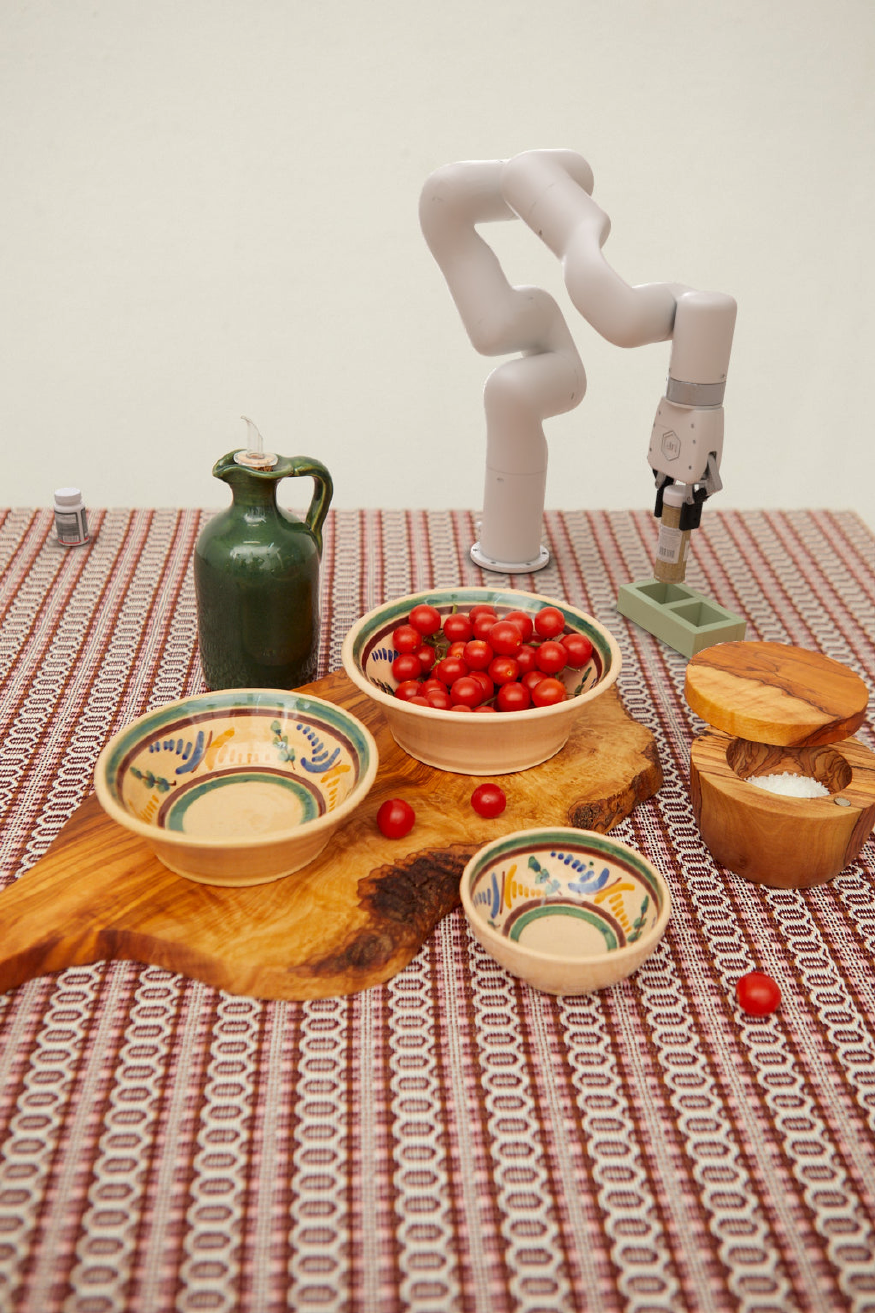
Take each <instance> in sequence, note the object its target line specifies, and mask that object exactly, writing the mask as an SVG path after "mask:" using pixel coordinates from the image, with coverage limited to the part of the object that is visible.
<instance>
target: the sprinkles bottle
mask: <svg viewBox="0 0 875 1313" xmlns="http://www.w3.org/2000/svg"><path fill="white" fill-rule="evenodd" d="M697 490H698V489H697V488H695V492H696V491H697ZM683 502H686V484H675V485H669V486H667V487H665V489H664V494H663V511H662V517H661V519H660V524H659V530H658V538H657V546H656V553H655V557H656V558H655V566H654V571H653V576H652V577H653V578H655V579H656V580H657V581H659V582H661V583H665V584H679V583H681V582H682V583H683V582H684V581H685V580H686V569H687V562H688V558H689V552H690V545H691V544H690V543H691V536H692V530H687V531H681V530H679V522H680V515H681V508H682V503H683Z"/></svg>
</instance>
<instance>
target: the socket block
mask: <svg viewBox="0 0 875 1313" xmlns="http://www.w3.org/2000/svg"><path fill="white" fill-rule="evenodd" d="M617 594H618V595H617V603H616V611H617V612H618V613H620V614H621V615H623V616H624V617H625V618H627V619H629V621H632V622H633V623H635V624H636V625H638V626H639V627H641V629H643V630H645V631H647V633H649V634H651V635H653V636H654V637H655V638H657V639H658V640H660V641H661V642H663V643H664V644H666V645H668V646H669V647H671V648H672V649H673V650H675V651H676V652H677V653H679V654H681V655H682V656H684V657H685V658H687V659H688V660H690V658H691V657H692V656H693V655H694V654H697V653H698V652H700V651H701V650H703V649H705V648H708V647H711V646H713V645H714V644H718V643H722V642H731V641H742V640H744V641H745V637H746V632H747V626H748V621H747V620H746V619H744V618H742V617H740V616H739V615H737V614H736V613H734V612H732V611H731V610H729V609H728V608H725V607H724V606H723V605H721V604H719V603H717V602H716V601H714V600H712V599H710V598H709V597H707V596H706V595H704V594H702V593H700V592H698V591H697V590H695V589H693V588H692V587H690V586H688V585H687V584H685V583H683V582H681V583H679V584H665V583H661V582H659V581H657V580H656V579H655V578H654V577H653V578H649V579H644V580H639V581H634V582H630V583H624V584H620V585H619V586H618V593H617Z"/></svg>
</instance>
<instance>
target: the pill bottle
mask: <svg viewBox="0 0 875 1313" xmlns="http://www.w3.org/2000/svg"><path fill="white" fill-rule="evenodd" d="M53 495H54V496H53V497H54V501H55V502H54V504H53V513H54V520H55V527H56V534H57V540H58V543H59V544H60V545H62V546H65V547H78V546H81V545H85V544H86V543H87V542H89V540H90V535H89V527H88V519H87V518H88V517H87V510H86V505H85V502H84V501H83V500H82V498H83V496H82V491H81V489H79V488H77V487H62V488H58V489H56V490H54V492H53Z"/></svg>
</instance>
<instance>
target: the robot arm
mask: <svg viewBox="0 0 875 1313" xmlns="http://www.w3.org/2000/svg"><path fill="white" fill-rule="evenodd" d="M593 173H594V172H593V169H592V168H591V165H590V164H589V162H588V160H587V159H586V158H585V157H584V156H583V155H582V154H581V153H579V152H577V151H576V150H573V149H570V148H539V149H529V150H525V151H522V152H520V153H517V154H515V155H513V157H511V158H507V159H504V158H503V159H482V160H481V159H479V160H461V161H454V162H449V163H446V164H444V165H441V166H440V167H437V168H436V169H434V170H433V171H432V172H431V173H430V174H429V175H428V176H427V177H426V179H425V181H424V182H423V185H422V187H421V189H420V193H419V197H418V205H417V220H418V225H419V230H420V233H421V236H422V239H423V241H424V244H425V246H426V248H427V250H428V252H429V255H431V257H432V259H433V261H434V262H435V265H436V266H437V268H438V270H439V272H440V274H441V276H442V278H443V280H444V283H445V285H446V288H447V291H448V293H449V296H450V298H451V301H452V303H453V305H454V308H455V310H456V313H457V315H458V318H459V320H460V322H461V325H462V327H463V329H464V331H465V334H466V337H467V339H468V341H469V343H470V345H471V347H472V348H473V349H474V351H476V352H477V353H478V354H479V355H481V356H484V357H490V358H493V357H500V356H506V355H511V354H515V353H519V352H520V354H521V356H522V357H520V358H515V359H512V360H509V361H506V362H504V363H502V364H500V365H498V366H496V367H495V368H494V369H493V370H492V371H491V372H490V373H489V375H488V376H487V377H486V380H485V381H484V384H483V390H482V401H483V402H482V403H483V410H484V418H485V427H486V430H485V431H486V445H485V446H486V447H485V471H484V472H485V473H484V486H483V503H482V520H481V521H477V522H476V523H475V525H474V528H475V529H476V530H477V531H478V532H480V533H479V541H476V542H475V543H474V544H472V546H471V548H470V560H472V562H473V563H475V564H476V565H478V566H480V567H481V568H484V569H486V570H489V571H493V572H498V573H505V574H526V573H533V572H535V571H539V570H541V569H543V568H545V566H547V565H548V564H549V561H550V551H549V550H548V548H546V547H545V546H544V545H543V544H542V531H543V521H544V511H545V499H546V498H545V497H546V487H547V478H548V462H549V447H548V441H547V437H546V434H545V432H544V428H543V421H545V420H548V419H549V418H553V417H557V416H560V415H563V414H567V413H569V412H571V411H573V410H575V409H576V408H577V407H578V406H580V404H581V403H582V402H583V400H584V398H585V395H586V393H587V387H588V386H587V385H588V383H587V382H588V381H587V380H588V379H587V374H586V369H585V366H584V363H583V360H582V358H581V356H580V353H579V351H578V348H577V346H576V343H575V341H574V339H573V336H572V333H571V331H570V329H569V326H568V324H567V321H566V319H565V317H564V314H563V312H562V310H561V307H560V306H559V304H558V302H557V301H556V299H555V298H554V297H553V295H551V293H550V292H549V291H547V290H546V289H544V288H542V287H541V286H538V285H534V284H520V285H514V286H513V285H511V283H510V282H509V280H508V279H507V276H506V275H505V272H504V270H503V268H502V265H501V263H500V260H499V258H498V256H497V254H496V252H495V251H494V249H493V247H491V245H490V244H489V243H488V242H487V241H486V239H485V238H483V236H482V235H480V234H479V233H478V231H477V230H476V228H475V225H480V224H490V223H491V224H492V223H500V222H501V223H502V222H510V221H518V220H520V221H521V222H522V223H523V224H524V225H525V226H526V227H527V229H529V230H530V231H531V232H532V234H533V235H535V237H537V239H538V240H539V241H540V242H541V243H542V244H543V245H544V247H546V248H547V249H548V250H549V251H550V253H551V254H552V255H553V256H554V257H555V258H556V259H557V261H559V263H560V264H561V266H562V277H563V281H564V285H565V288H566V290H567V294H568V296H569V300H570V301H571V303H572V305H573V307H574V308H575V309H576V310H577V312H578V313H579V314H580V315H581V316H582V318H583V319H584V320H585V321H586V322H587V323H588V324H589V325H590V326H591V327H592V328H593V330H595V332H596V333H598V334H599V335H600V336H601V337H602V338H603V339H604V340H606V341H607V342H608V343H610V344H612V345H613V346H615V347H618V348H621V349H635V348H641V347H644V346H648V345H650V344H656V343H657V344H658V343H662V342H663V343H664V342H668V341H671V347H670V355H669V362H668V370H667V376H666V380H665V381H666V385H665V394H663V395H662V396H661V397H660V401H658V405H657V409H656V412H655V416H654V419H653V424H652V428H651V433H650V439H649V444H648V450H647V455H646V460H647V463H648V465H649V466H650V468H651V471H652V475H653V477H654V479H655V481H654V488H655V489H657V490H656V495H655V496H656V497H655V503H654V511H653V516H654V517H655V518H657V519H660V518H662V511H663V494H664V489H665V487H667V486H669V485H677V481H678V482H680V483H683V484H684V485H686V502H683V503H682V508H681V515H680V522H679V530H681V531H687V530H691V531H692V530H696V529H699V528H700V525H701V520H702V512H703V506H704V503H706V502H707V501H708V499H709V498H710V497H712V496H713V495H714V494H716V493H718V492H720V491H722V490H723V489H724V488H723V487H724V486H723V482H722V478H721V475H720V469H721V464H722V459H723V458H722V457H723V455H722V454H723V451H724V450H723V448H724V438H725V408H724V406H723V404H724V398H725V392H726V385H727V378H728V372H729V365H730V360H731V353H732V346H733V341H734V335H735V328H736V322H737V315H738V304H737V303H738V302H737V301H736V298H734V297H733V296H731V295H730V294H728V293H725V292H718V291H712V290H711V291H710V290H698V289H696V288H693V287H691V286H687V285H686V284H682V283H680V282H676V281H669V280H663V281H656V282H649V283H644V284H638V285H633V286H631V285H630V284H628V283H627V282H626V281H625V280H624V278H622V277H621V276H620V275H619V274H618V273H617V272H616V270H615V269H614V268H612V266H611V265H610V263H609V262H608V261H607V259H606V258H605V256H604V254H603V252H602V248H603V247H604V246H605V244H606V242H607V241H608V238H609V236H610V232H611V230H612V221H611V218H610V216H609V214H608V213H607V212H606V211H605V210H604V209H603V207H601V206H600V205H599V204H598V203H597V202H596V200H594V199H593V198H592V194H593V191H594V186H595V179H594V174H593ZM696 485H698V489H696V487H695V486H696ZM695 489H696V490H697V491H696V492H695Z"/></svg>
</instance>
